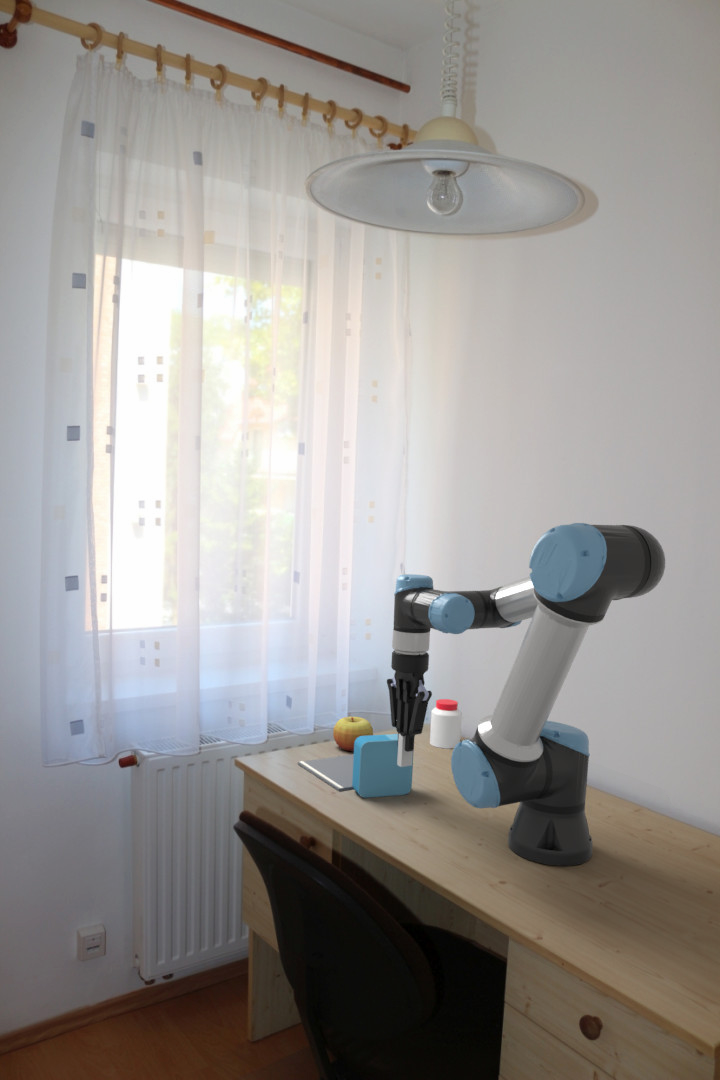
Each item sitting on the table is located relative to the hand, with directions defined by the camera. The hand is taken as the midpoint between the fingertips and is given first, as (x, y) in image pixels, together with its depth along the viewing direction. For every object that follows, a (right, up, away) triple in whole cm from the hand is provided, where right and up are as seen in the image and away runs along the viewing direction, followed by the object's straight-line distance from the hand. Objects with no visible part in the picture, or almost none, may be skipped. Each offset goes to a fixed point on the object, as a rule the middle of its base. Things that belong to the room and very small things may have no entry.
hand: (404, 765), depth 176 cm
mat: (-11, -7, +20) cm, 24 cm away
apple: (-11, -6, +37) cm, 39 cm away
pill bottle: (+13, -7, +45) cm, 47 cm away
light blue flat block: (-5, -8, +7) cm, 12 cm away
